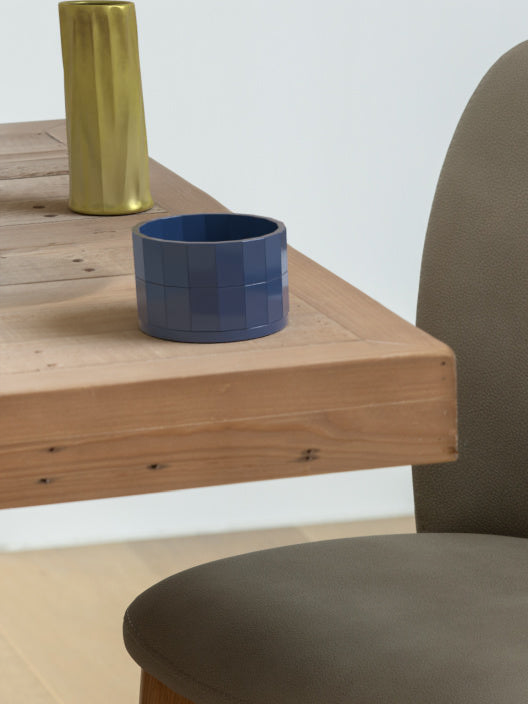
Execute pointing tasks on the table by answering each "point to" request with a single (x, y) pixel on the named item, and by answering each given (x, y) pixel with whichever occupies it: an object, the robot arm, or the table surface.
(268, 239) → the bowl
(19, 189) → the table surface
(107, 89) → the vase
